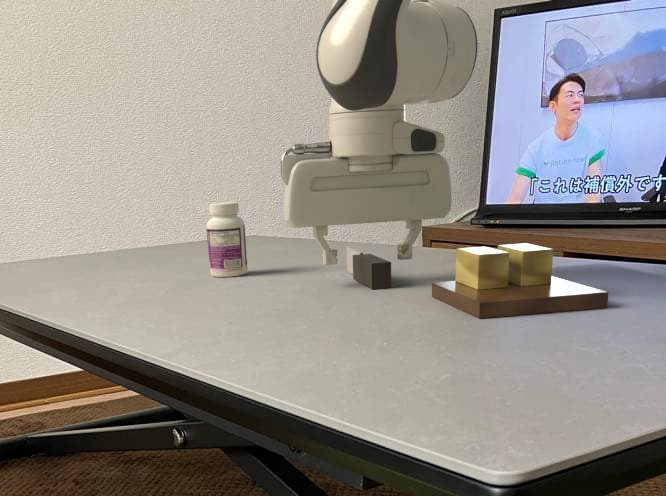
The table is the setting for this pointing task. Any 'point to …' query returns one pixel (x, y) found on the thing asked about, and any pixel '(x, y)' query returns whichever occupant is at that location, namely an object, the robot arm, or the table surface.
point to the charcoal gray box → (369, 269)
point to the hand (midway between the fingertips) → (367, 261)
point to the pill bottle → (226, 241)
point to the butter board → (513, 283)
